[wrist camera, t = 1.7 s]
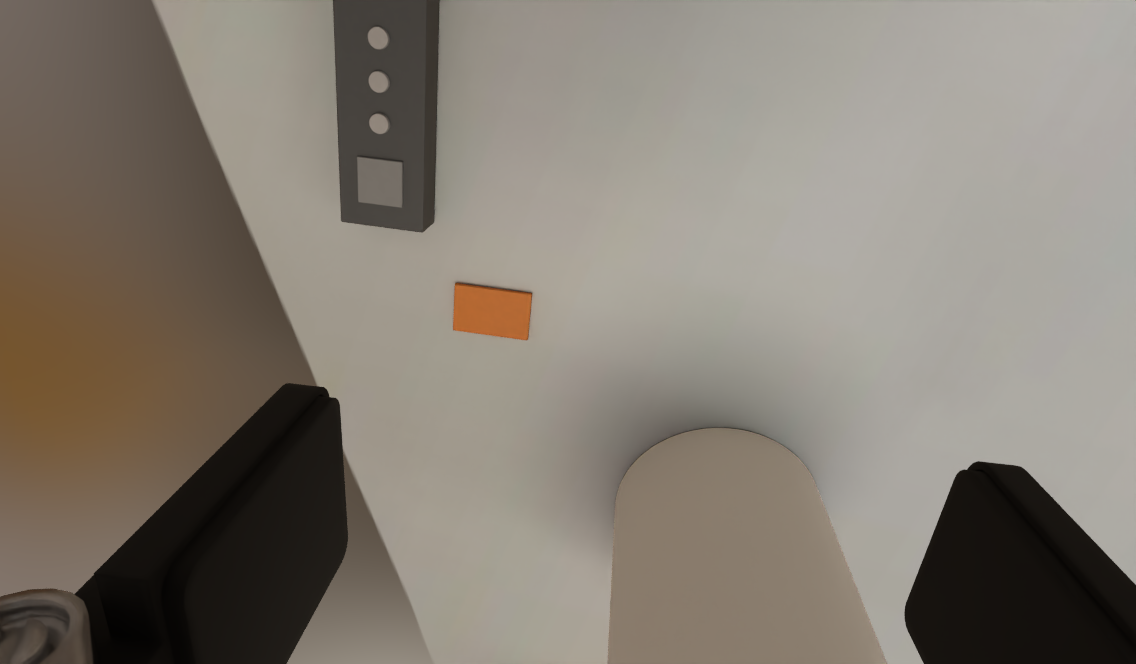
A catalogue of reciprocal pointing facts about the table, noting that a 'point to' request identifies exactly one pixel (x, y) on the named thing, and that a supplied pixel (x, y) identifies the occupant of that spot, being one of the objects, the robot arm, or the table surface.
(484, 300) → the tiles
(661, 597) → the canister
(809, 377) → the table surface
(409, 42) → the remote
